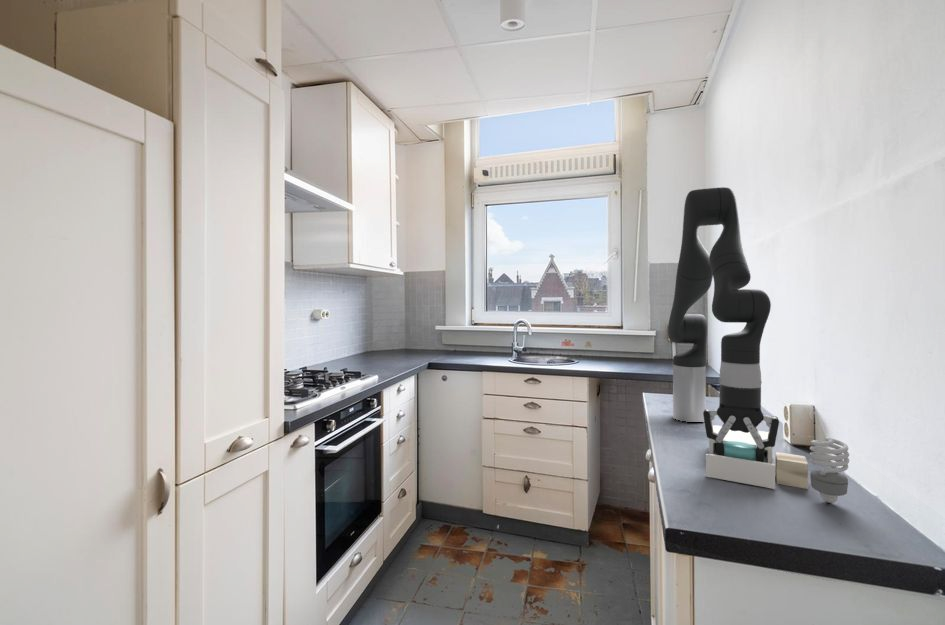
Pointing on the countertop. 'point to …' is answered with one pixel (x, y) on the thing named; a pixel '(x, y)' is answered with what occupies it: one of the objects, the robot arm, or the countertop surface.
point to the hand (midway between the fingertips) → (739, 461)
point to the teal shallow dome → (740, 450)
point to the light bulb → (829, 469)
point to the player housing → (741, 440)
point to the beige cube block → (791, 470)
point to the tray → (741, 470)
